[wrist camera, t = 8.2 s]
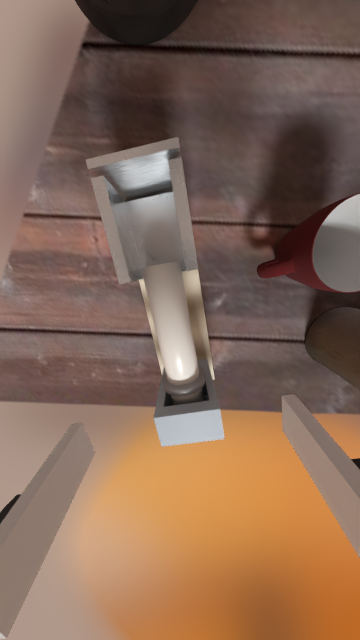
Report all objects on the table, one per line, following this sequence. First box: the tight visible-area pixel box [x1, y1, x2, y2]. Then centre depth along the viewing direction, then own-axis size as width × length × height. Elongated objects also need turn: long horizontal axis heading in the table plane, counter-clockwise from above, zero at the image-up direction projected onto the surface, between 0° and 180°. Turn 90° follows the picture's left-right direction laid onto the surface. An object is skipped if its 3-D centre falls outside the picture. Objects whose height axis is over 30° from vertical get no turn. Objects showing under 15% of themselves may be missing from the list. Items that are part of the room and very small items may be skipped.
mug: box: [257, 193, 360, 293], centre depth 20 cm, size 11×8×10 cm
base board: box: [139, 269, 215, 380], centre depth 26 cm, size 28×8×1 cm, turn 11°
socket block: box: [154, 359, 224, 447], centre depth 24 cm, size 4×7×10 cm, turn 101°
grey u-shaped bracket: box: [86, 137, 198, 284], centre depth 19 cm, size 9×7×10 cm
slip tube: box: [141, 261, 205, 405], centre depth 21 cm, size 18×5×5 cm, turn 10°
